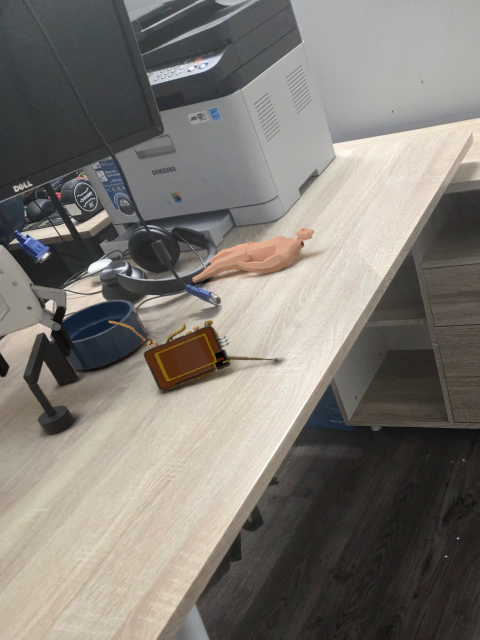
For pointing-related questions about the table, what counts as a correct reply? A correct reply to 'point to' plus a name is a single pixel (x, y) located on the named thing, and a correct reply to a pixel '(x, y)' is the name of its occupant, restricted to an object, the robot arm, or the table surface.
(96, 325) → the bowl
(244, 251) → the male figurine
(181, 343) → the brown box with rod
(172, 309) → the table surface
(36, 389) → the articulated desk lamp
